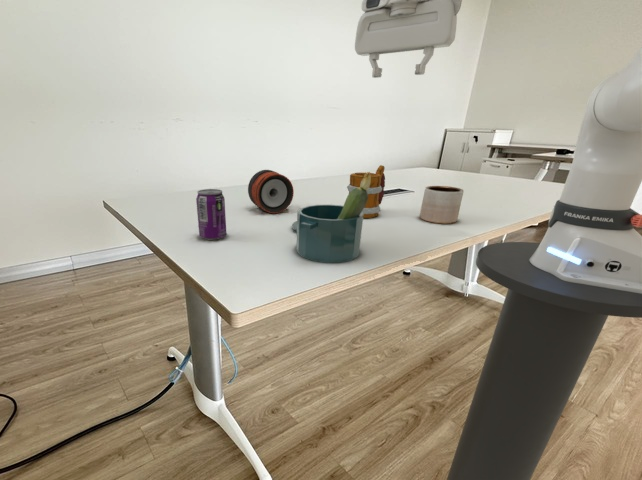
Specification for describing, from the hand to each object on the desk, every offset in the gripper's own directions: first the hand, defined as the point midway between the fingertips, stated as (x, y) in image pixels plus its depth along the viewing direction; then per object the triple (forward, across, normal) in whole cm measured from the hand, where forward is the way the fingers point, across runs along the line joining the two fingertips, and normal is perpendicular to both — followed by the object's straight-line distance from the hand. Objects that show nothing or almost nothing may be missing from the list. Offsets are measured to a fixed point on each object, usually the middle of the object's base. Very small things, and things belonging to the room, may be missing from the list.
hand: (397, 76), depth 75 cm
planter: (+37, -7, -31) cm, 49 cm away
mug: (+37, +14, -24) cm, 47 cm away
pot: (+37, +5, +16) cm, 41 cm away
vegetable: (+37, +5, +16) cm, 40 cm away
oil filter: (+37, +42, -7) cm, 57 cm away
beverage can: (+37, +34, +26) cm, 57 cm away
